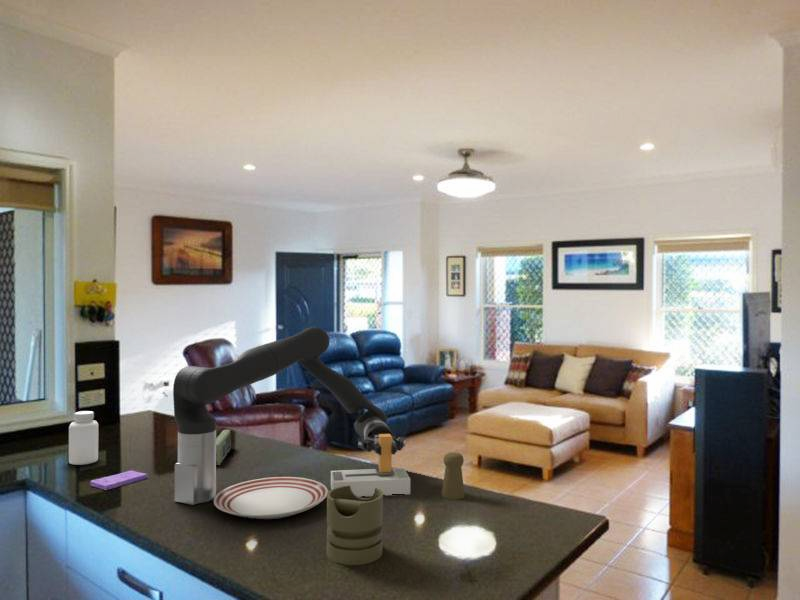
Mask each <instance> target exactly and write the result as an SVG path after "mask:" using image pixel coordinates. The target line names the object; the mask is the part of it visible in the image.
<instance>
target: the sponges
mask: <svg viewBox="0 0 800 600" xmlns="http://www.w3.org/2000/svg"><path fill="white" fill-rule="evenodd" d="M147 478H148V473H144V472H138V471H135V470H132V469H131V470H128V471H124V472H121V473H117V474H113V475H109V476H104V477H100V478H96V479H92V480H90V481H89V482H90V483H89V484H90V487H94V488H97V489H99V490H103V491H109V490H111V489H115V488H118V487H122V486H125V485H129V484H132V483H135V482H139V481H143V480H146V479H147Z"/></svg>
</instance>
